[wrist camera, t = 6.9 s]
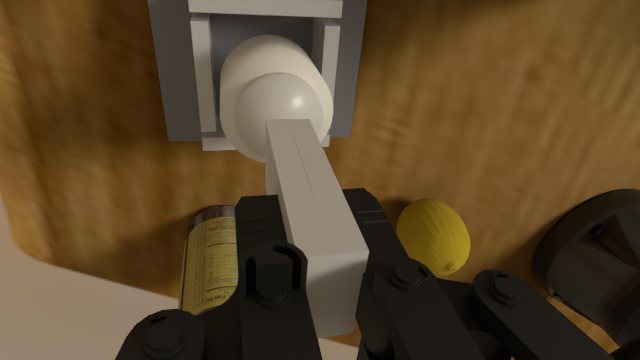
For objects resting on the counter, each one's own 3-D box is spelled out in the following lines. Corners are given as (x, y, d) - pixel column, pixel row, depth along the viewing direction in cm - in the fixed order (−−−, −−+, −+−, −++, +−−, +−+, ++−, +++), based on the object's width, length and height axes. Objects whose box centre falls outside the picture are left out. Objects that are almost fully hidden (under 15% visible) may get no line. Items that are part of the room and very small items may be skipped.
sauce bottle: (239, 265, 36) (253, 551, 19) (173, 243, 33) (125, 557, 17) (276, 215, 34) (328, 492, 17) (209, 187, 31) (195, 486, 14)
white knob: (312, 126, 22) (331, 167, 19) (223, 128, 21) (223, 172, 18) (319, 35, 20) (342, 62, 16) (216, 33, 19) (215, 60, 15)
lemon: (376, 199, 35) (412, 263, 28) (432, 172, 34) (482, 230, 28) (394, 238, 38) (430, 304, 31) (446, 213, 38) (493, 274, 31)
